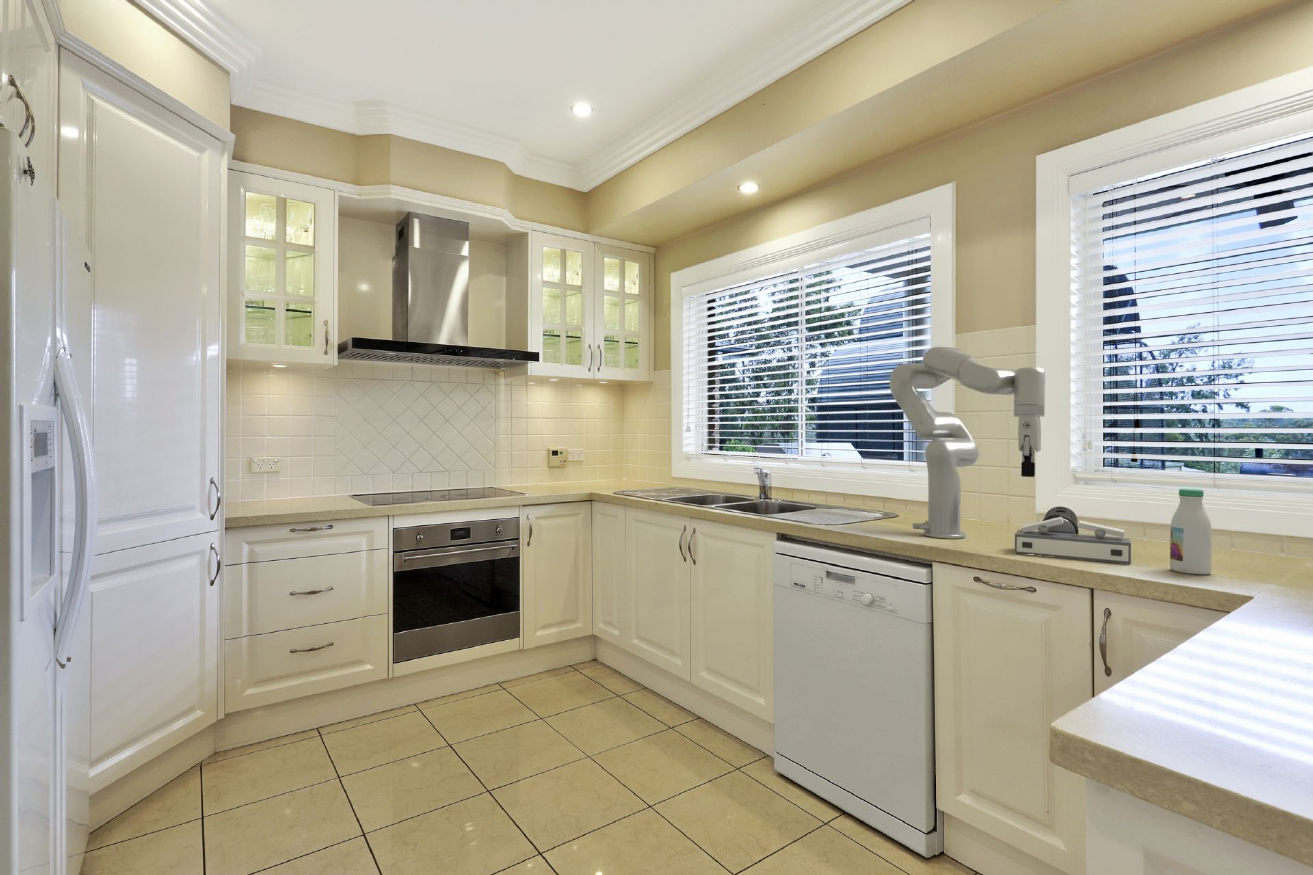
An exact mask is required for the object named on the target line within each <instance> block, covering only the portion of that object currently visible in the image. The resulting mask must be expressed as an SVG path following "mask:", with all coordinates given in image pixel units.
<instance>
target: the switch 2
mask: <svg viewBox="0 0 1313 875" xmlns="http://www.w3.org/2000/svg"><path fill="white" fill-rule="evenodd" d="M1078 529H1082V530H1087V531H1092V532H1094V535H1095V536H1096V537H1098V538H1103V537H1104V536H1106V535H1110V536H1112V537H1122V538H1124V535H1125V530H1124V529H1121V528H1116V527H1112V526H1106V525H1102V524H1099V523H1098V524H1097V523H1094V522H1089V521H1084V520H1079V522H1078Z"/></svg>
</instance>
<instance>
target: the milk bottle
mask: <svg viewBox="0 0 1313 875" xmlns="http://www.w3.org/2000/svg"><path fill="white" fill-rule="evenodd" d="M1204 494H1205V493H1204V490H1203V489H1201V488H1180V489H1178V498H1179V503H1178V506H1177V508H1176V510H1175V512H1174V513H1173V515H1172V517H1171V522H1170V538H1169V539H1170V540H1169V542H1170V543H1169V546H1170V548H1169V550H1170V551H1169V567H1170V569H1171V571H1174V572H1176V573H1177V572H1178V573H1183V574H1190V575H1211V573H1212V543H1213V542H1212V523H1211V520H1210V516H1209V515H1208V513H1207V512H1206V509H1205V507H1204V504H1203V500H1204Z"/></svg>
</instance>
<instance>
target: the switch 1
mask: <svg viewBox="0 0 1313 875" xmlns="http://www.w3.org/2000/svg"><path fill="white" fill-rule="evenodd" d="M1063 522H1064V521H1063V519H1062V517H1058V518H1054V519H1050V520H1045V521H1038V522H1034V523H1030V524H1029V523H1028V524H1025V525H1022V527H1021V528H1020V530H1022V532H1023V533H1025V532H1029V531H1039V532H1040V533H1046V532H1047V531H1048V529H1049V527H1051V526H1055V525H1060V524H1063Z"/></svg>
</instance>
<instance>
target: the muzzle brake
mask: <svg viewBox="0 0 1313 875" xmlns="http://www.w3.org/2000/svg"><path fill="white" fill-rule="evenodd" d="M1058 517H1062V519H1063V521H1064V522H1063V524H1060V525H1055V526H1051V527H1049V529H1048V531H1047V532H1055V533H1069V534H1079V531H1080V530H1079V528H1078V525H1079V522H1078V517H1077V514H1076V513H1075V512H1074V511H1073V509H1071V508H1068V507H1065V506H1060V505H1059V506H1053V507H1052V508H1050V509H1049V510H1048V511H1047V512H1046V513H1045V515H1044V517H1043V519H1042V521H1045V520H1050V519H1054V518H1058Z"/></svg>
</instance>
